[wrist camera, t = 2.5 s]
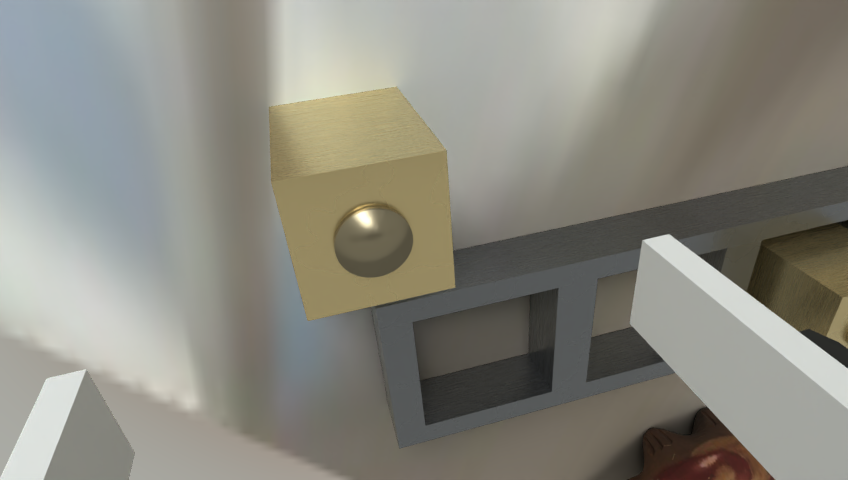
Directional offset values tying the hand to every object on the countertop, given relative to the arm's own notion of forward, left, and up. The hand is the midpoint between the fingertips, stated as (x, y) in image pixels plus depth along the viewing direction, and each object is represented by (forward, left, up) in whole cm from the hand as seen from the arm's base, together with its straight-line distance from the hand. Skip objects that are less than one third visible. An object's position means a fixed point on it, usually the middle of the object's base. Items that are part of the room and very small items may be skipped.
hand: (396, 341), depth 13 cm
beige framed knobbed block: (+10, +23, -11) cm, 28 cm away
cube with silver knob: (0, 0, -11) cm, 11 cm away
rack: (+10, +14, -11) cm, 21 cm away
